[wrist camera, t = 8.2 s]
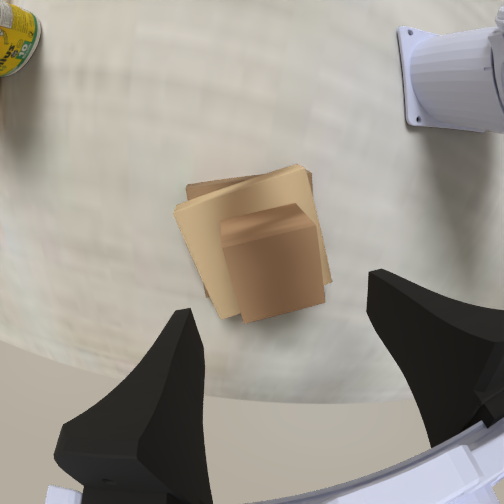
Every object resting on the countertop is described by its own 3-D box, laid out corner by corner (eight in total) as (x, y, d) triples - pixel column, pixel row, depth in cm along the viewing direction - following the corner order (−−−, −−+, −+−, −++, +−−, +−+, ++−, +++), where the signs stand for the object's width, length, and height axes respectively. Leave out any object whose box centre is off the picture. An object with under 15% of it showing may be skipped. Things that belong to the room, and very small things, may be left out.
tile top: (297, 163, 19) (305, 168, 17) (323, 269, 22) (332, 282, 20) (176, 204, 19) (173, 213, 17) (220, 304, 22) (220, 319, 21)
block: (294, 202, 18) (316, 225, 14) (305, 268, 20) (325, 302, 16) (219, 220, 18) (222, 248, 14) (237, 285, 20) (243, 323, 16)
